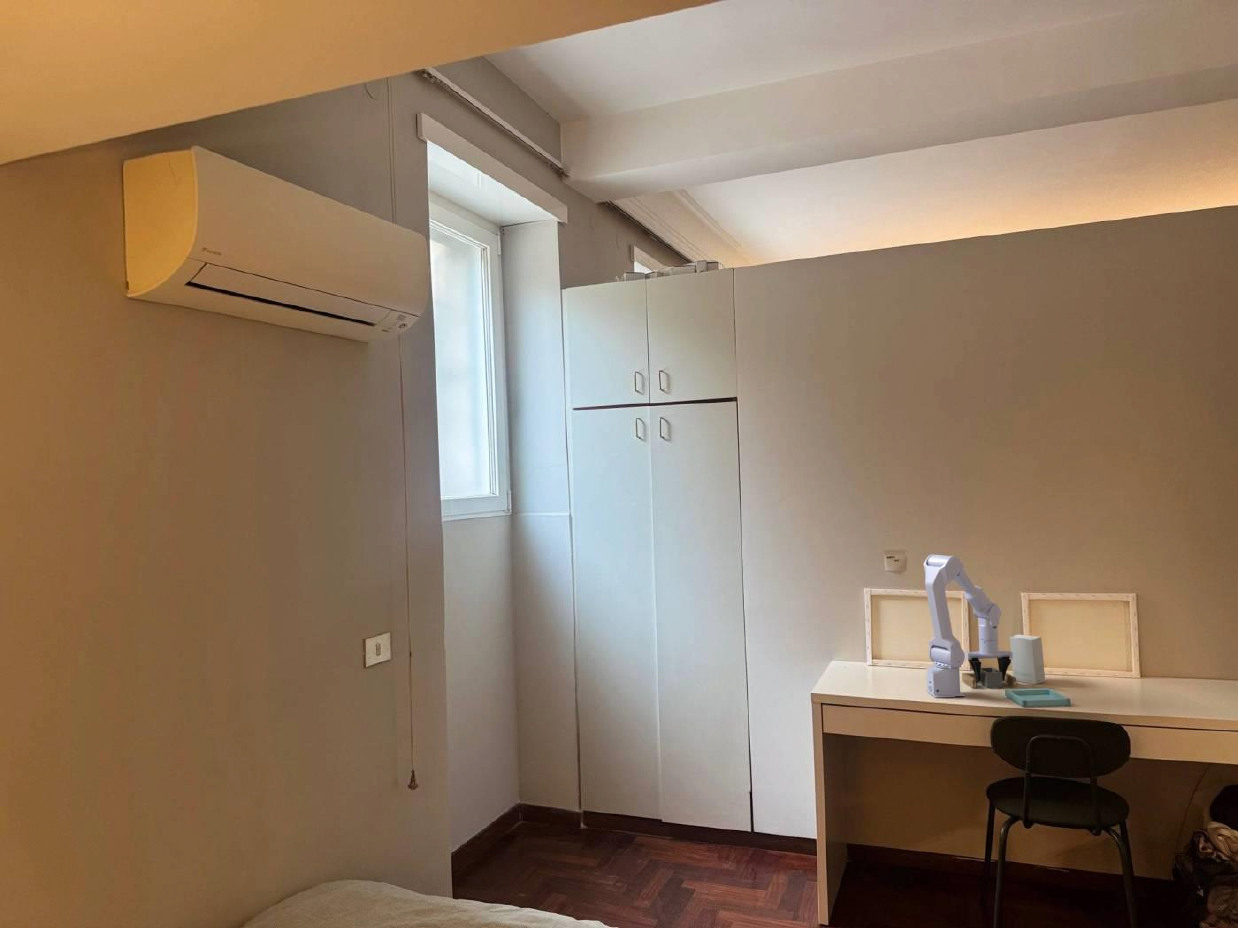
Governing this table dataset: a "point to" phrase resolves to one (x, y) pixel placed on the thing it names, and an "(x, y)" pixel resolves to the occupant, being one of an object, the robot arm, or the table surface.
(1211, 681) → the table surface
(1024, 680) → the skincare box
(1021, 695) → the tray
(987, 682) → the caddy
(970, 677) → the bay
